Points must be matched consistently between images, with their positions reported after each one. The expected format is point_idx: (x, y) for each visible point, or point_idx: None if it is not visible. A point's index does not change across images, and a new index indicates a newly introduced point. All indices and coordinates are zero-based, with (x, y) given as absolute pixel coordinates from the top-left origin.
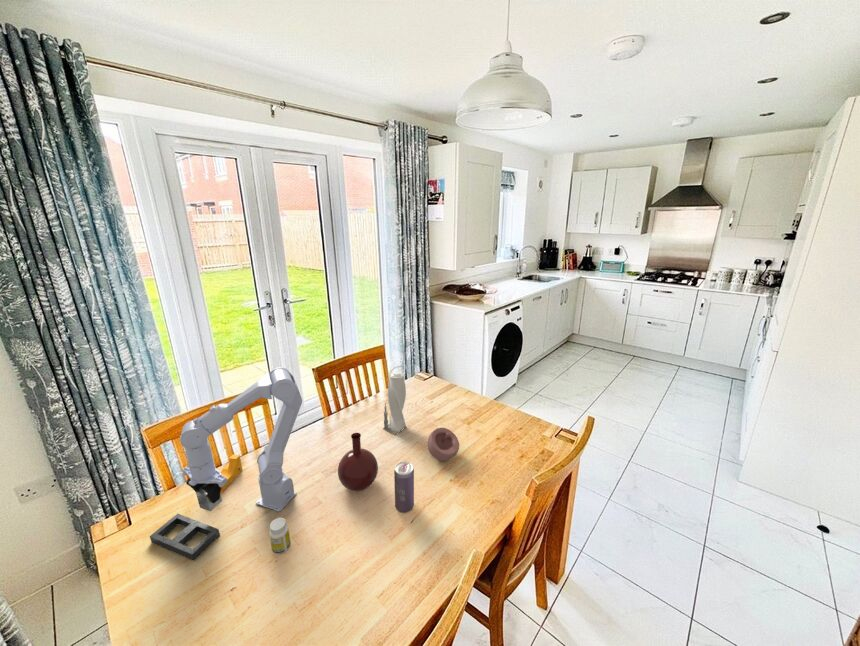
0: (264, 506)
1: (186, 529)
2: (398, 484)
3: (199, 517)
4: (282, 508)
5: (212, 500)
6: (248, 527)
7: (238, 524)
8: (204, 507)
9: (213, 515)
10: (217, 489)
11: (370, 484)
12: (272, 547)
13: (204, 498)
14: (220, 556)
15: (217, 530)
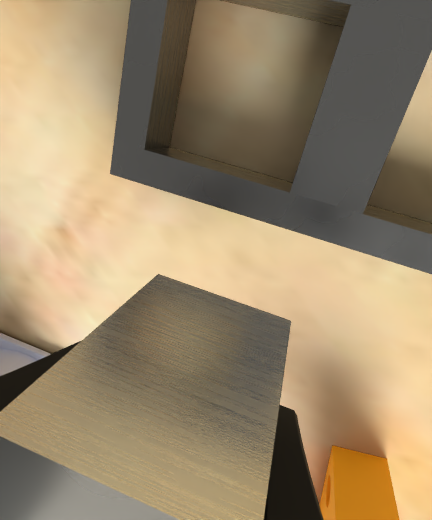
0: (33, 348)
1: (359, 151)
2: None
3: (364, 298)
4: None
5: (53, 354)
6: (30, 228)
7: (90, 246)
8: (217, 309)
9: (275, 310)
10: None
11: None
12: None
13: (103, 382)
14: (38, 21)
15: (111, 163)
